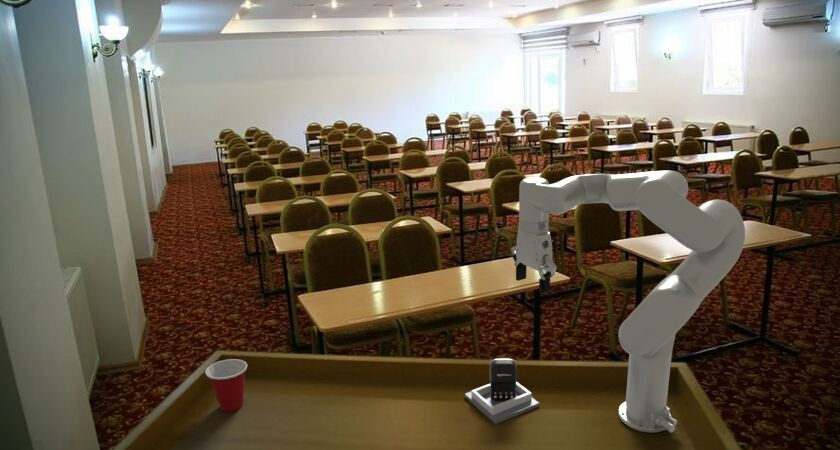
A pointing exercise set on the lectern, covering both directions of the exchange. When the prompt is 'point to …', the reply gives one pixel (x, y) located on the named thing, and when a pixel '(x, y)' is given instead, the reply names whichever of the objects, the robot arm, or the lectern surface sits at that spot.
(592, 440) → the lectern surface
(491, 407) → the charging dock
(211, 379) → the plastic cup
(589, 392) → the lectern surface
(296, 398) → the lectern surface
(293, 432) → the lectern surface
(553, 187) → the robot arm
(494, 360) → the battery charger
